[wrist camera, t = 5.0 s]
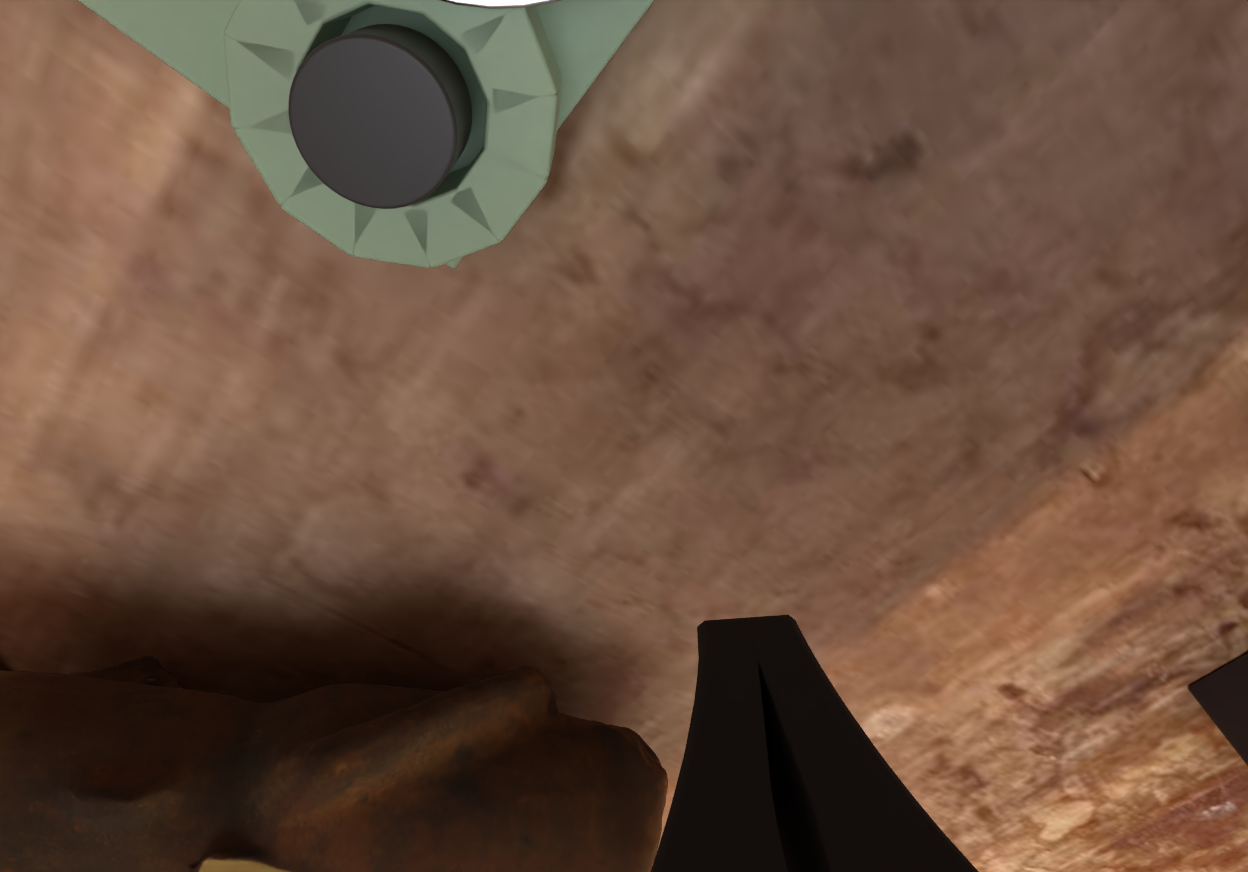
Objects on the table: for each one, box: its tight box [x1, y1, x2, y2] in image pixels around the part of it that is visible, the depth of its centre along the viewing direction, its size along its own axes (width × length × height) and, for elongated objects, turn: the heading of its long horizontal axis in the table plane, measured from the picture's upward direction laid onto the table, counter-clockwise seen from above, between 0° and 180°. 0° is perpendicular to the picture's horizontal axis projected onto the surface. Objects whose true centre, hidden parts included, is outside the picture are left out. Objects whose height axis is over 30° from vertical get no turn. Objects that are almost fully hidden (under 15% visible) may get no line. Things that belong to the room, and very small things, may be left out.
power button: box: [288, 24, 472, 209], centre depth 13 cm, size 3×3×2 cm
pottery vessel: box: [0, 656, 668, 872], centre depth 22 cm, size 12×20×8 cm, turn 74°
